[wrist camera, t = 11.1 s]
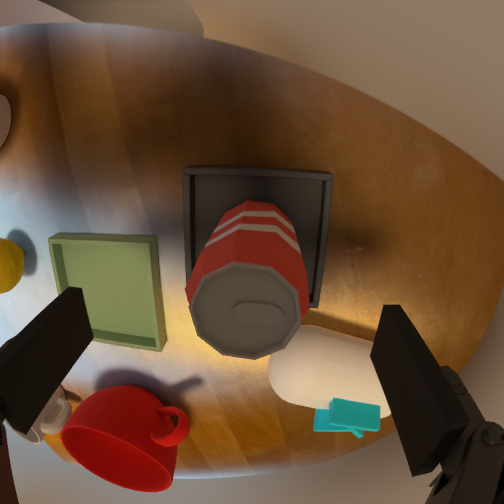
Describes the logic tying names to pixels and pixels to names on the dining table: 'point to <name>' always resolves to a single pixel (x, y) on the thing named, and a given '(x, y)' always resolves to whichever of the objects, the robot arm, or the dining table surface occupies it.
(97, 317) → the green tray
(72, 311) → the robot arm
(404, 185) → the dining table surface
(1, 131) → the coffee cup
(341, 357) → the mug
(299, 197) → the charcoal tray
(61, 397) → the cup
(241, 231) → the beverage can
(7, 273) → the fruit
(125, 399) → the ceramic cup
